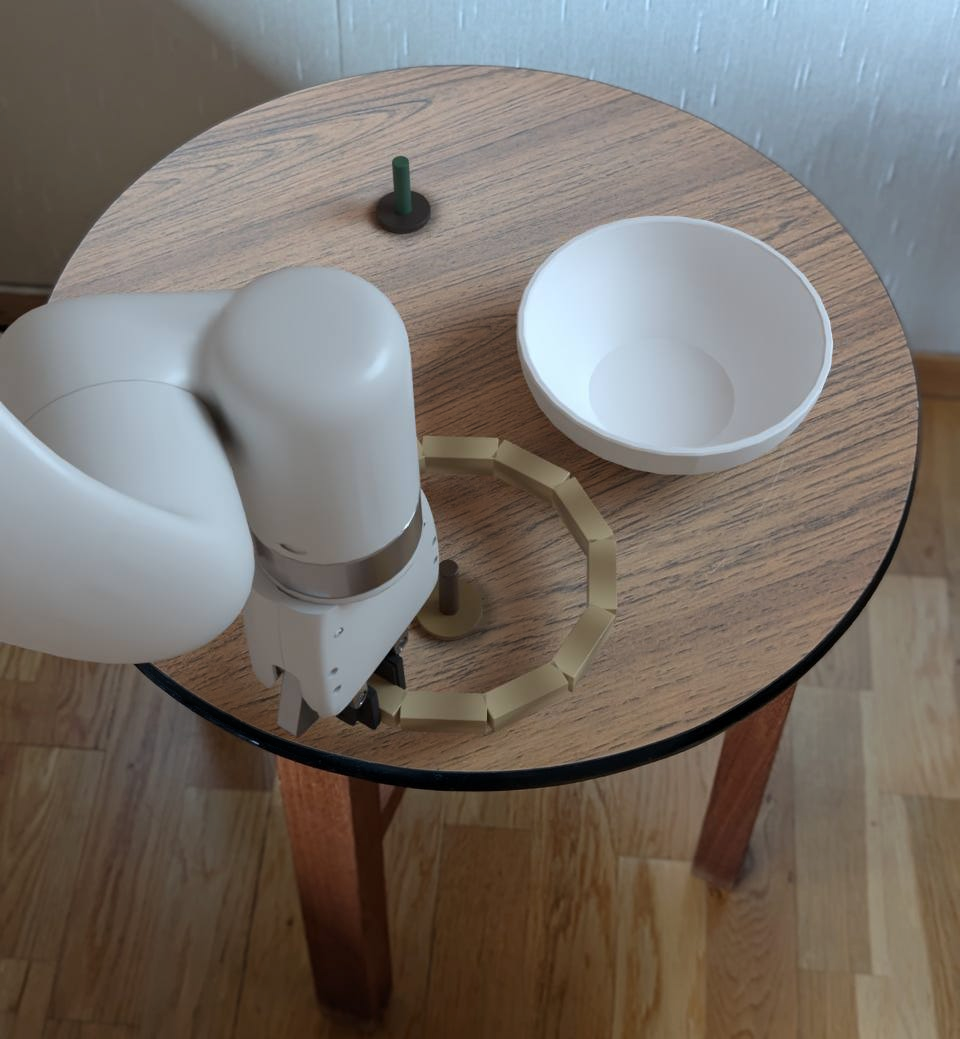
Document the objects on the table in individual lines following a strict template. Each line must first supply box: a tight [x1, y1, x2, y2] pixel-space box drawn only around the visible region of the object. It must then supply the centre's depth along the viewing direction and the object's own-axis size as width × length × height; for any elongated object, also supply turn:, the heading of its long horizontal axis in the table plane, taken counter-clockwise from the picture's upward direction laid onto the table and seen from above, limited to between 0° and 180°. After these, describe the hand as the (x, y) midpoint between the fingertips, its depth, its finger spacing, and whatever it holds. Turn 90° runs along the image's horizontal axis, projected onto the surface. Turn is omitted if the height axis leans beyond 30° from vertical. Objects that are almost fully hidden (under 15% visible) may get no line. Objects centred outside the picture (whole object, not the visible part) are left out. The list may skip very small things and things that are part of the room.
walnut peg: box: [415, 558, 484, 641], centre depth 78 cm, size 4×4×5 cm
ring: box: [366, 435, 618, 735], centre depth 76 cm, size 19×19×2 cm
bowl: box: [516, 215, 834, 476], centre depth 85 cm, size 20×20×7 cm
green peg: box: [375, 155, 432, 234], centre depth 96 cm, size 4×4×5 cm
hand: (367, 695), depth 73 cm, fingers closed on ring, 1 cm apart
